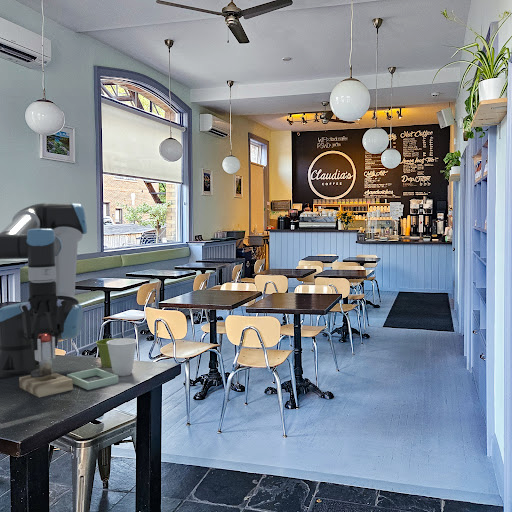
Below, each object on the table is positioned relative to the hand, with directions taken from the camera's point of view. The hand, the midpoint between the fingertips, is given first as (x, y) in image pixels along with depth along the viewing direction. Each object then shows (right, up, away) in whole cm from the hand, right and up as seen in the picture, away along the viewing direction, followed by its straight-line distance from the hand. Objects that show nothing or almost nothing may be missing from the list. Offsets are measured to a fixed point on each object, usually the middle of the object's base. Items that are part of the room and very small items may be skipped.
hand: (45, 358), depth 162 cm
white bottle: (0, -5, 0) cm, 5 cm away
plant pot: (+11, -8, +30) cm, 33 cm away
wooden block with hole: (0, -10, 0) cm, 10 cm away
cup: (+19, -9, +19) cm, 28 cm away
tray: (+12, -9, +6) cm, 17 cm away
